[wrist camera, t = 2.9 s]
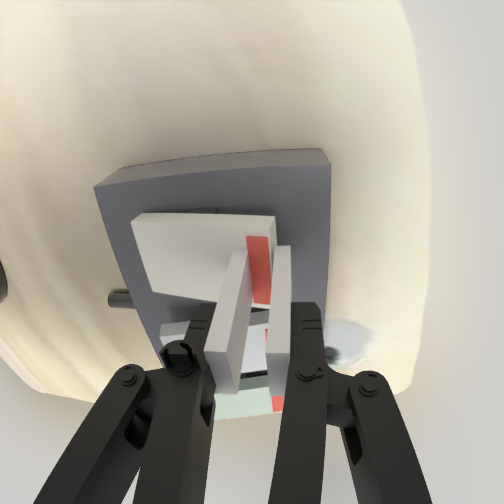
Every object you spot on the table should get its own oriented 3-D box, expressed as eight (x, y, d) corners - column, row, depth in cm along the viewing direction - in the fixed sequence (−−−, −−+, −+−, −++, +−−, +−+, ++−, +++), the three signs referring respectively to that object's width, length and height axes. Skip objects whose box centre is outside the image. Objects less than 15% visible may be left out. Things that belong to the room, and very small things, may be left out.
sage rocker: (200, 411, 26) (201, 423, 25) (187, 384, 23) (187, 397, 22) (282, 400, 26) (284, 412, 25) (281, 372, 24) (284, 385, 22)
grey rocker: (179, 367, 22) (179, 381, 21) (161, 324, 19) (159, 338, 18) (280, 354, 22) (283, 368, 21) (277, 308, 20) (281, 323, 19)
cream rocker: (161, 280, 19) (151, 293, 18) (142, 212, 17) (128, 223, 16) (279, 295, 17) (274, 312, 16) (275, 216, 14) (268, 229, 13)
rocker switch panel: (151, 370, 33) (140, 401, 29) (73, 178, 20) (37, 201, 16) (312, 377, 30) (313, 413, 26) (321, 148, 18) (332, 168, 14)
